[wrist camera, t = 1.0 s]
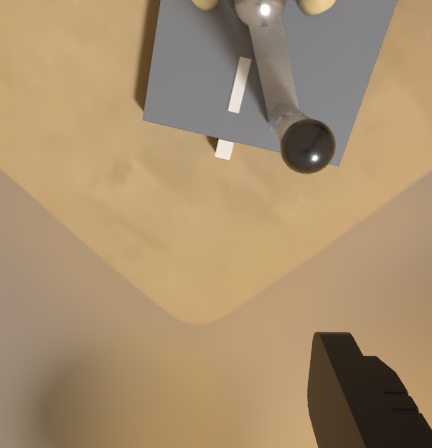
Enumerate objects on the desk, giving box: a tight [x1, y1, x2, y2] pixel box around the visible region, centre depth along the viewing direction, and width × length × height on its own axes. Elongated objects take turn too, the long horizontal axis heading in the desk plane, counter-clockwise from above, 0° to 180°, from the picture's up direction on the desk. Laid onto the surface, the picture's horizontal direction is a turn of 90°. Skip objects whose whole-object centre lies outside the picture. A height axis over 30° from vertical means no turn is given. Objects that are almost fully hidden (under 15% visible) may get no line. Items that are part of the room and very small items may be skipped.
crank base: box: [143, 0, 397, 166], centre depth 23 cm, size 13×13×4 cm
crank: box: [234, 0, 336, 174], centre depth 19 cm, size 9×3×10 cm, turn 15°
